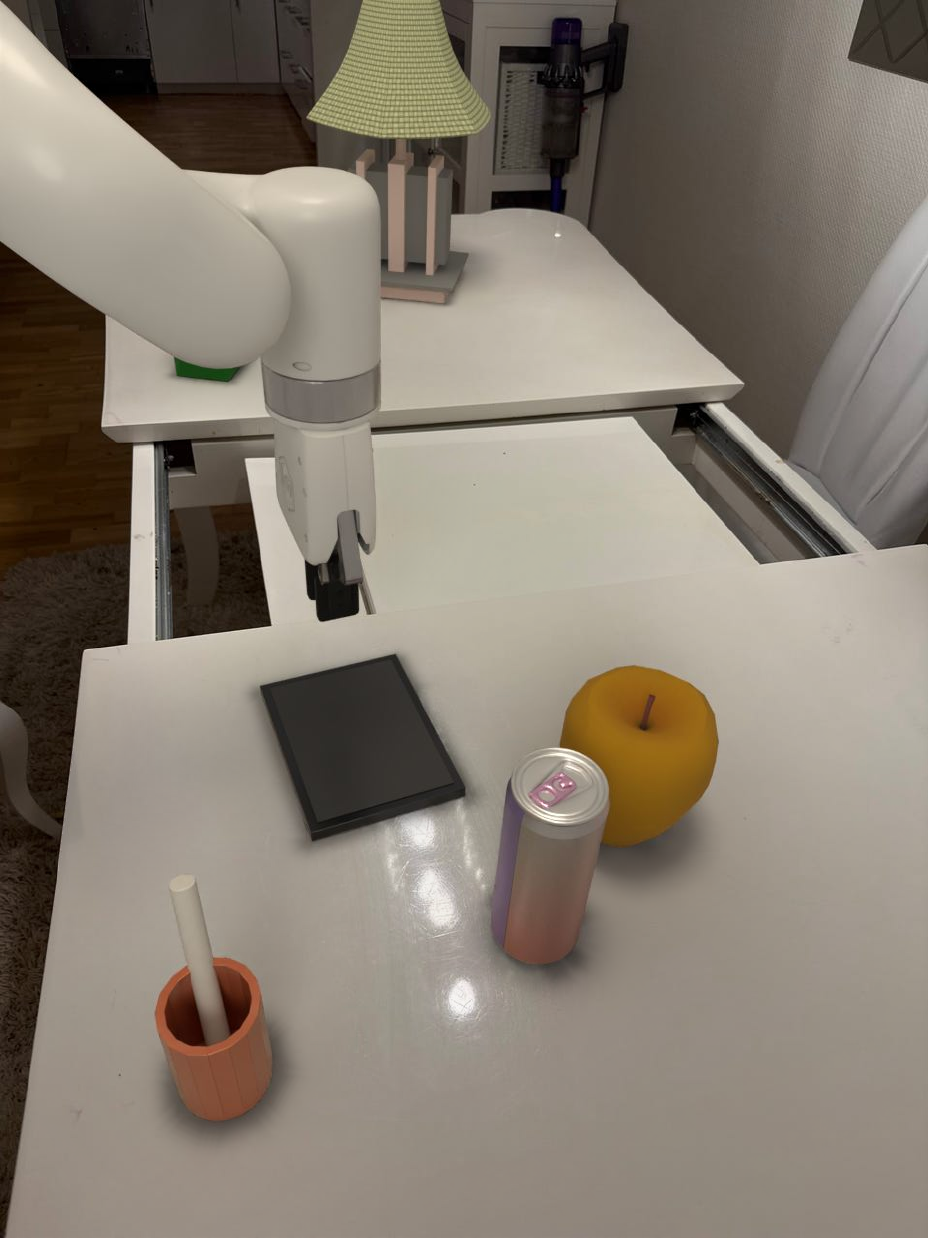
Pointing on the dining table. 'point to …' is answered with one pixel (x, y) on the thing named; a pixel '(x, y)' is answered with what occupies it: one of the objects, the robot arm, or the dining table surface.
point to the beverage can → (547, 853)
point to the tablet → (358, 746)
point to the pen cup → (227, 1069)
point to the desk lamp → (406, 136)
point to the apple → (644, 747)
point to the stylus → (199, 958)
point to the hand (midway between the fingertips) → (332, 604)
